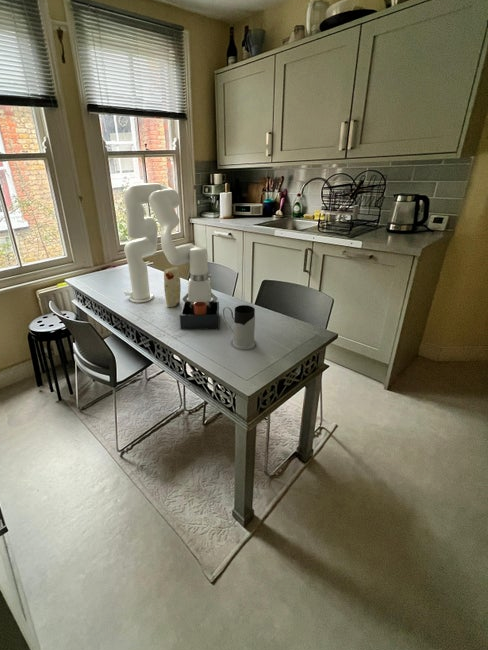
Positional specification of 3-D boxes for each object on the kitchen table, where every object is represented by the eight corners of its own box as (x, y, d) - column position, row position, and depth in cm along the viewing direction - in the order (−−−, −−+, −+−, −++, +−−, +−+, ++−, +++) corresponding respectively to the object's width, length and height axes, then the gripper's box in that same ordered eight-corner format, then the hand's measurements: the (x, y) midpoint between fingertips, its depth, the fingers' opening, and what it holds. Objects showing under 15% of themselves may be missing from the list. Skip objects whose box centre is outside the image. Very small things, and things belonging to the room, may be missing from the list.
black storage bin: (180, 329, 138) (179, 315, 135) (184, 314, 151) (183, 301, 148) (218, 329, 136) (218, 315, 133) (219, 314, 149) (219, 301, 146)
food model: (172, 310, 156) (169, 271, 148) (162, 306, 160) (159, 269, 152) (184, 303, 163) (182, 266, 155) (175, 300, 167) (172, 264, 159)
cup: (193, 323, 141) (192, 306, 137) (194, 317, 146) (193, 301, 143) (206, 323, 140) (206, 306, 137) (207, 317, 145) (207, 301, 142)
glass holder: (247, 351, 119) (248, 316, 113) (216, 340, 128) (216, 306, 122) (259, 342, 125) (260, 307, 119) (229, 331, 134) (229, 299, 128)
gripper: (219, 273, 137) (219, 310, 144) (180, 274, 139) (182, 310, 146) (219, 279, 130) (219, 318, 138) (178, 279, 132) (180, 318, 140)
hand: (200, 314), depth 142 cm, fingers closed on cup, 6 cm apart
